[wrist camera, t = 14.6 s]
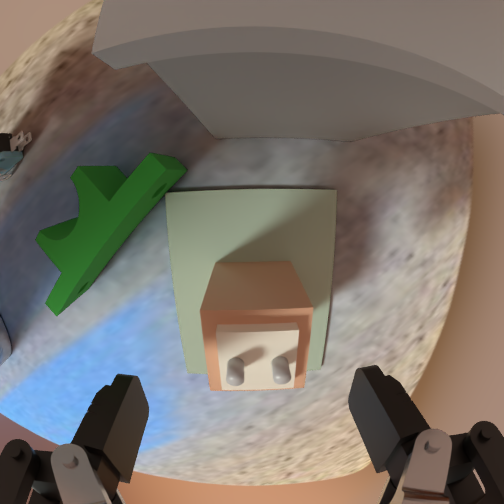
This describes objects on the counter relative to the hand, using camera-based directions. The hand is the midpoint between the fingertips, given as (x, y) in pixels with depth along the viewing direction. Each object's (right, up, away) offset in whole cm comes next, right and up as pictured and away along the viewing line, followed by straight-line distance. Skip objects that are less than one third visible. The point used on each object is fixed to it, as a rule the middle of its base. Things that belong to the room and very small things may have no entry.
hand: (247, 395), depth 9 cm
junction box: (+2, +15, +5) cm, 16 cm away
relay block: (0, +2, +8) cm, 9 cm away
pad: (0, +2, +8) cm, 9 cm away
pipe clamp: (-9, +7, +7) cm, 14 cm away
